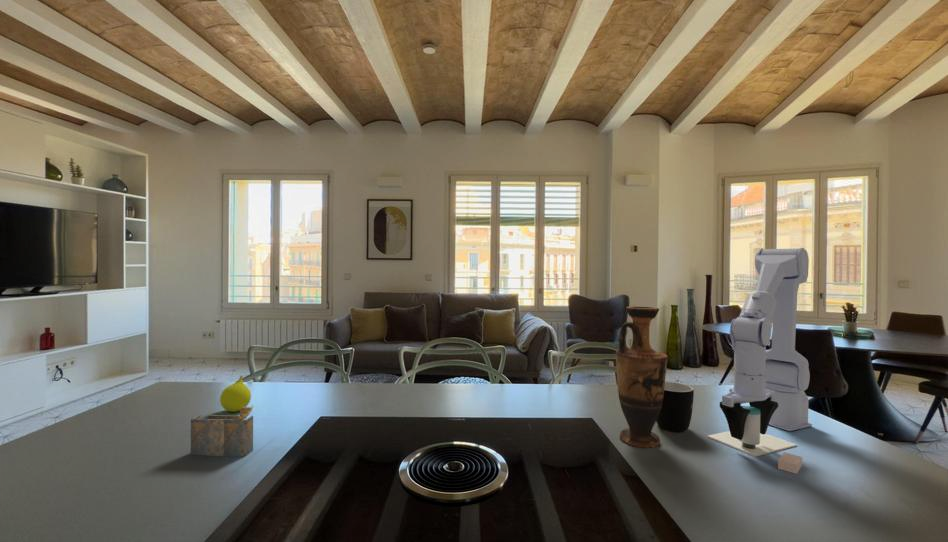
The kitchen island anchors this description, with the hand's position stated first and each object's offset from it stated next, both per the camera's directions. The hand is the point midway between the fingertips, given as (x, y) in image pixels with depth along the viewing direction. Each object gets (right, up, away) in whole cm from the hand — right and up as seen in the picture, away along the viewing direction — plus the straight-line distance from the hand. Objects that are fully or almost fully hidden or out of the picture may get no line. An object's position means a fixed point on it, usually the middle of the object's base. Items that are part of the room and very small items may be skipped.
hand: (748, 435), depth 92 cm
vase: (-22, -3, +3) cm, 23 cm away
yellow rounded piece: (-122, -1, +20) cm, 124 cm away
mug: (-11, -3, +13) cm, 17 cm away
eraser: (+3, -3, -9) cm, 10 cm away
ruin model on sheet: (-111, -2, -5) cm, 111 cm away
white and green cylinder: (0, -2, 0) cm, 2 cm away
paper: (+3, -3, +3) cm, 5 cm away
